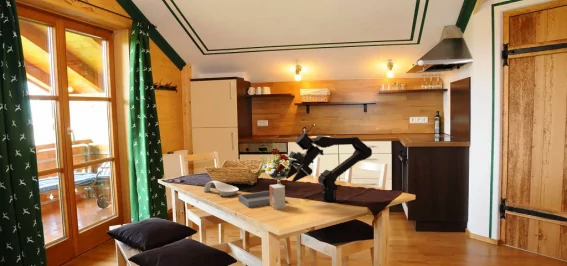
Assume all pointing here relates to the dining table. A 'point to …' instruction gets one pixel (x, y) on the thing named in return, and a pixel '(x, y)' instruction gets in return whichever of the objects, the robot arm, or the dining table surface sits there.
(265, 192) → the tray
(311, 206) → the dining table surface
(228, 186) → the spoon rest
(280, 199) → the small box
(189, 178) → the dining table surface
